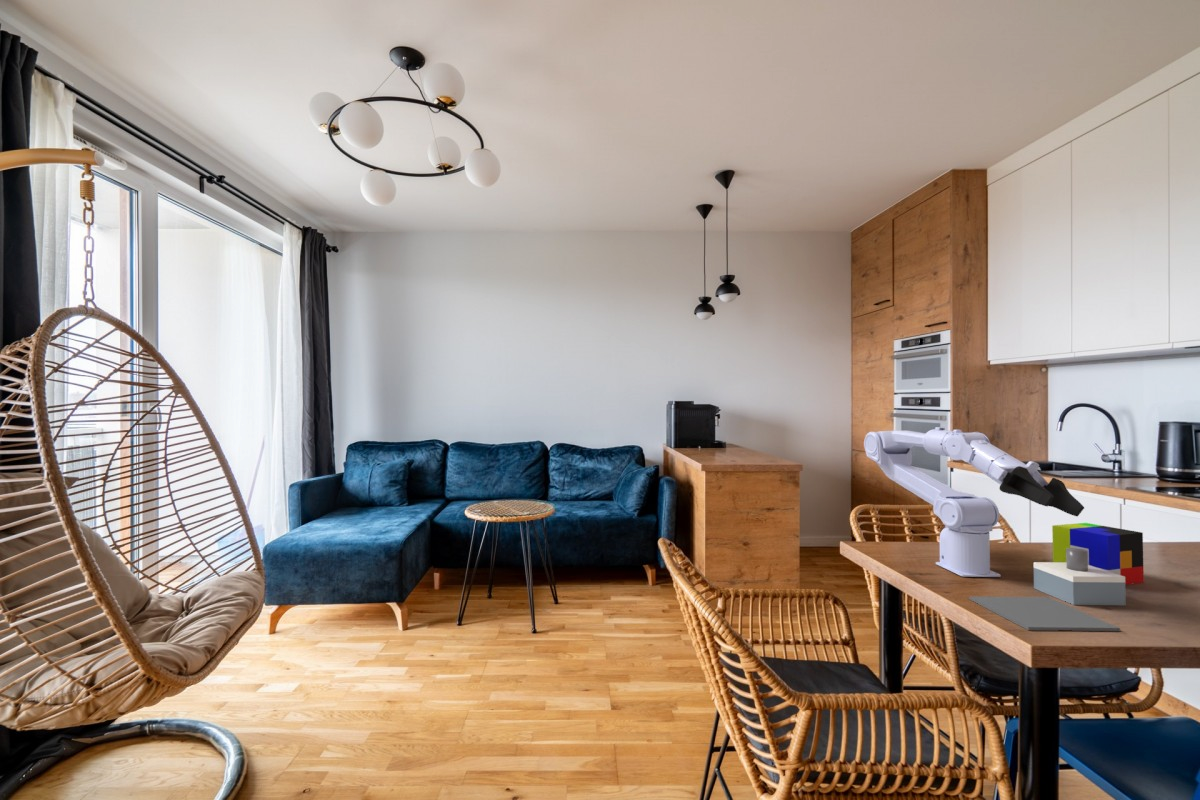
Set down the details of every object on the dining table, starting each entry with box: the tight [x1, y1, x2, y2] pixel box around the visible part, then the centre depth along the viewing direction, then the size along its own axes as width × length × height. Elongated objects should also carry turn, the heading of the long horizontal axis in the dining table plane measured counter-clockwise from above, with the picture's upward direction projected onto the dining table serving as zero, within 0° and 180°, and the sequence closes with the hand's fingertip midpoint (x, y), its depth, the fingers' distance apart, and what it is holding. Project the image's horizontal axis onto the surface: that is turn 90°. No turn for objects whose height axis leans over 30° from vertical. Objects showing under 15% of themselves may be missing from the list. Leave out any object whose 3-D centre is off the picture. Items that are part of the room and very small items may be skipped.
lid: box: [1033, 548, 1125, 582], centre depth 100 cm, size 9×9×5 cm
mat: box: [968, 596, 1121, 632], centre depth 91 cm, size 14×14×1 cm
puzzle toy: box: [1051, 522, 1145, 586], centre depth 112 cm, size 10×10×10 cm
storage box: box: [1033, 567, 1127, 606], centre depth 100 cm, size 9×9×4 cm
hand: (1064, 506), depth 95 cm, fingers open, 7 cm apart
